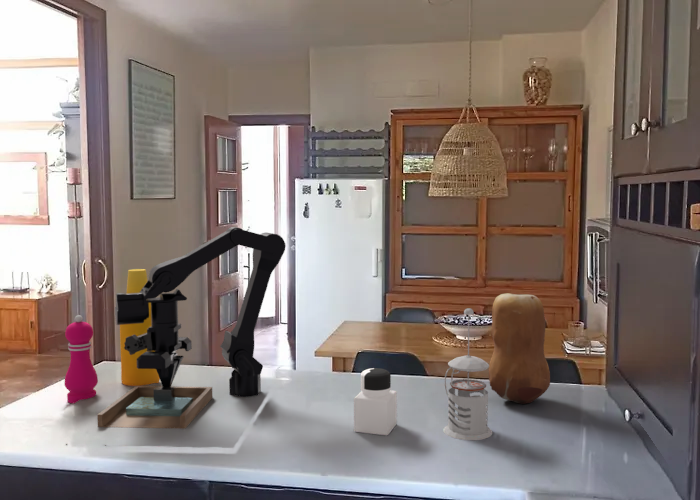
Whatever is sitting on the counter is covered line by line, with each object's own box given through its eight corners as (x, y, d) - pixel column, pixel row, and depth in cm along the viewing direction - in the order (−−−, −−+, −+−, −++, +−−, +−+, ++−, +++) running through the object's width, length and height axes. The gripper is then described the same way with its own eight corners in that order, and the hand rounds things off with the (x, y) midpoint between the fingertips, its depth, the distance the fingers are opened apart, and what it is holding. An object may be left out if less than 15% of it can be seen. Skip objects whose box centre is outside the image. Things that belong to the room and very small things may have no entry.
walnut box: (212, 401, 153) (212, 386, 152) (185, 433, 133) (184, 416, 132) (136, 400, 154) (135, 385, 154) (97, 431, 134) (97, 414, 134)
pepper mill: (86, 405, 150) (83, 318, 149) (58, 403, 152) (54, 317, 150) (104, 395, 158) (101, 312, 156) (77, 394, 159) (74, 311, 157)
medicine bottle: (397, 424, 137) (397, 367, 136) (387, 436, 131) (387, 376, 130) (364, 420, 140) (364, 364, 139) (353, 432, 133) (353, 373, 132)
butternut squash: (522, 389, 161) (524, 287, 159) (562, 405, 149) (564, 295, 147) (475, 397, 155) (476, 291, 153) (512, 414, 143) (514, 299, 141)
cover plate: (193, 404, 148) (192, 386, 147) (181, 416, 140) (181, 397, 139) (140, 403, 149) (140, 385, 148) (126, 415, 141) (125, 396, 140)
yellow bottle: (167, 383, 167) (163, 269, 165) (134, 392, 161) (130, 273, 158) (147, 377, 174) (143, 267, 171) (114, 384, 167) (110, 270, 164)
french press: (462, 443, 126) (464, 314, 124) (428, 425, 137) (428, 305, 135) (502, 434, 131) (504, 309, 129) (466, 417, 141) (467, 301, 139)
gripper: (145, 313, 157) (147, 377, 158) (111, 329, 138) (113, 402, 140) (191, 313, 156) (193, 378, 157) (163, 330, 137) (165, 403, 139)
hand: (166, 390), depth 148 cm, fingers closed
